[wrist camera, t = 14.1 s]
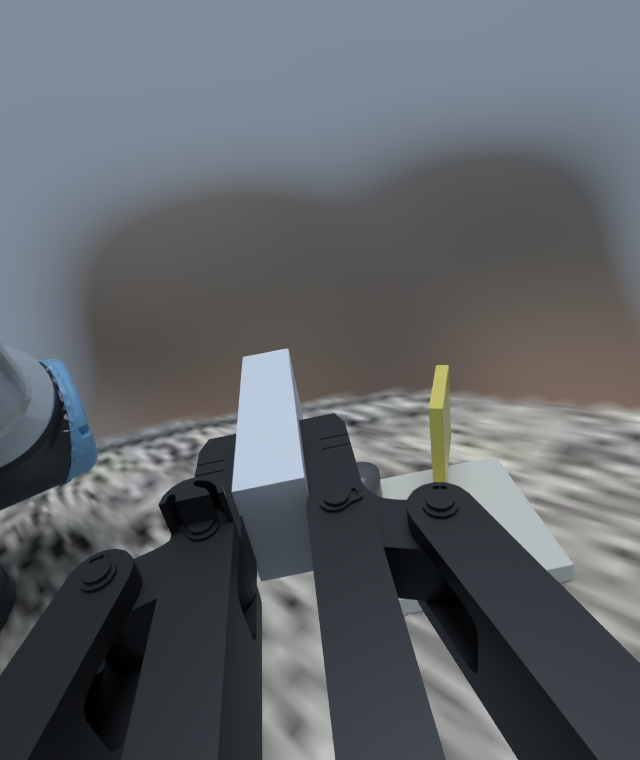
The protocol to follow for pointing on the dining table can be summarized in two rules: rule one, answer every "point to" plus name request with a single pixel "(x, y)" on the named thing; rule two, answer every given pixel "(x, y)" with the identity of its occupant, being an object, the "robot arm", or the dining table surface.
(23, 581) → the dining table surface
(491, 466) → the base
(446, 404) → the yellow flat slab
